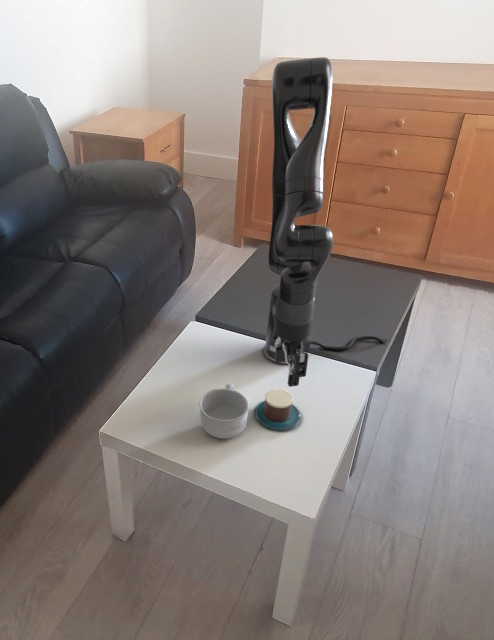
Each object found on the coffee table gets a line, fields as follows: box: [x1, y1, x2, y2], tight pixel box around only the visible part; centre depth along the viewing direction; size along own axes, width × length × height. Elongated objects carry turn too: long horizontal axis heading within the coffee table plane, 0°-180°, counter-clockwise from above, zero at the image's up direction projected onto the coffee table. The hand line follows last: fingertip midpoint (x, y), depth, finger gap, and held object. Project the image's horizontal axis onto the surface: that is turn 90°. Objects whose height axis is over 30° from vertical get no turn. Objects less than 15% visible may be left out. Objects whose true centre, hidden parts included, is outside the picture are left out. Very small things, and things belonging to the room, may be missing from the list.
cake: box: [264, 388, 293, 422], centre depth 138 cm, size 6×6×5 cm
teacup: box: [198, 382, 249, 439], centre depth 136 cm, size 14×11×8 cm
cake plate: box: [255, 400, 301, 432], centre depth 140 cm, size 10×10×1 cm
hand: (286, 372), depth 132 cm, fingers open, 8 cm apart
